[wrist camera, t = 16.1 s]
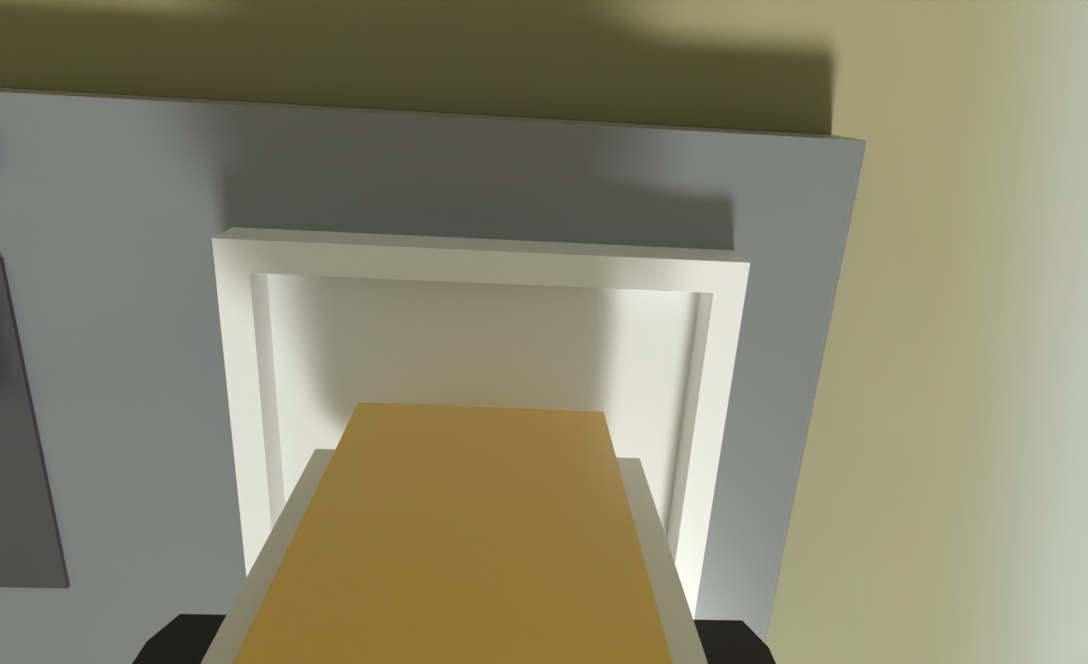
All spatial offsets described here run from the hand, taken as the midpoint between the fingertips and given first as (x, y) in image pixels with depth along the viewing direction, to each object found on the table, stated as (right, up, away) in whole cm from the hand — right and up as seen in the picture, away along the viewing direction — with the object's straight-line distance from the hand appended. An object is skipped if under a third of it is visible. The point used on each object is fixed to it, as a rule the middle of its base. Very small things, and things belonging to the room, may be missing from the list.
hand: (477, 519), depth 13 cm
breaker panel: (-4, +1, +3) cm, 5 cm away
